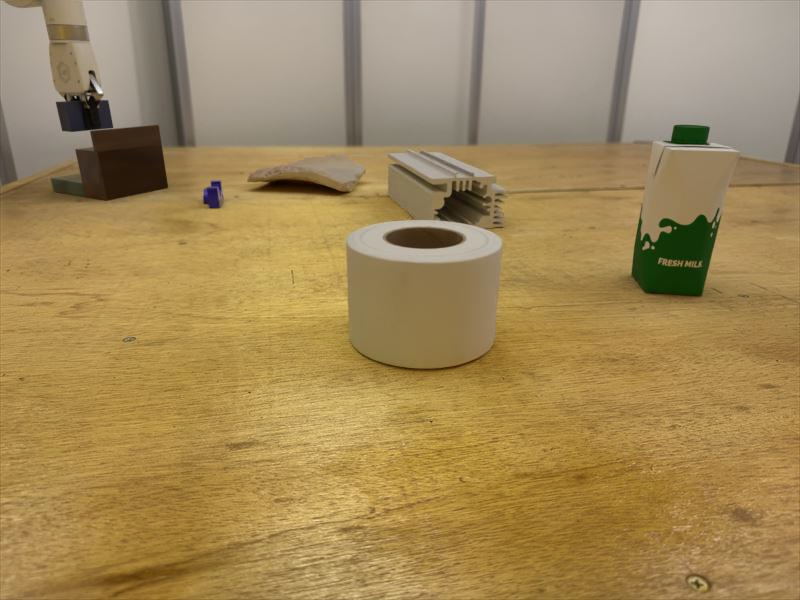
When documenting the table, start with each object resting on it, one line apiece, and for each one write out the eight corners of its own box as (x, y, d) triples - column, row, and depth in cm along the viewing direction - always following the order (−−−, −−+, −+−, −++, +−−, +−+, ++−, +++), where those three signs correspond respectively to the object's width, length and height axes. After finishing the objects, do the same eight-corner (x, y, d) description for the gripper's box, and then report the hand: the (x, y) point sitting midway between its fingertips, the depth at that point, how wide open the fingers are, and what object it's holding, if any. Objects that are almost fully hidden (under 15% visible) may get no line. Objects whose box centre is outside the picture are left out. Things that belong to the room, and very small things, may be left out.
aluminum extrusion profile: (448, 192, 126) (450, 147, 122) (505, 227, 99) (510, 171, 95) (387, 195, 123) (387, 149, 119) (430, 232, 96) (432, 174, 92)
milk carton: (687, 275, 77) (722, 125, 69) (712, 299, 68) (755, 132, 61) (622, 271, 78) (649, 123, 70) (639, 295, 69) (671, 130, 62)
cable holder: (206, 199, 117) (204, 180, 115) (223, 199, 118) (221, 180, 116) (201, 208, 110) (198, 188, 108) (219, 207, 110) (217, 187, 109)
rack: (53, 191, 123) (38, 126, 117) (116, 180, 136) (105, 120, 130) (106, 200, 115) (92, 131, 110) (168, 187, 128) (158, 124, 123)
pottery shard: (281, 178, 144) (243, 185, 125) (281, 149, 142) (243, 152, 123) (370, 187, 139) (344, 196, 120) (372, 157, 137) (346, 161, 118)
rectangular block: (61, 131, 119) (55, 101, 117) (103, 127, 127) (98, 99, 125) (72, 132, 118) (65, 102, 115) (113, 128, 126) (108, 100, 123)
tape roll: (349, 306, 65) (347, 217, 61) (478, 304, 66) (484, 216, 62) (347, 372, 51) (343, 262, 47) (510, 368, 52) (522, 260, 48)
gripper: (27, 35, 116) (48, 127, 123) (77, 34, 109) (96, 131, 116) (61, 37, 122) (79, 124, 129) (111, 36, 115) (127, 128, 122)
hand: (87, 126), depth 122 cm, fingers closed on rectangular block, 3 cm apart
